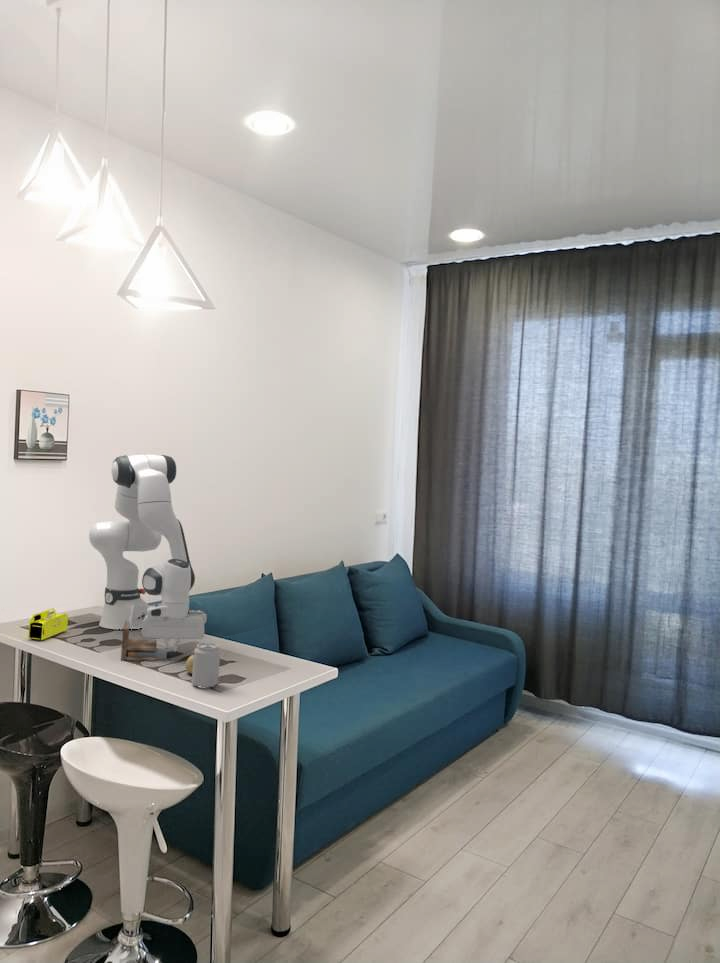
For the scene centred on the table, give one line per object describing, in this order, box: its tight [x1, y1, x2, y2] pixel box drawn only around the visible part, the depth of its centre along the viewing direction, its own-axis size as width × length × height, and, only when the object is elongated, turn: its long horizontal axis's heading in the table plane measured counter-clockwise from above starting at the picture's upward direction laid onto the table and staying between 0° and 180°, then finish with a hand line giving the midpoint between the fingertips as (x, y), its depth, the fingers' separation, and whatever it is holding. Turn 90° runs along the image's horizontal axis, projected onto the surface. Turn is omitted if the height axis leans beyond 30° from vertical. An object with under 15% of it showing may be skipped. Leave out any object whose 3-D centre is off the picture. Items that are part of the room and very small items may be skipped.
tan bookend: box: [120, 621, 158, 661], centre depth 242 cm, size 10×10×10 cm
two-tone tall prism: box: [127, 647, 168, 660], centre depth 243 cm, size 12×6×2 cm, turn 105°
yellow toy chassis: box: [27, 607, 69, 641], centre depth 257 cm, size 16×6×8 cm, turn 172°
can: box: [191, 642, 221, 687], centre depth 218 cm, size 8×8×12 cm
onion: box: [185, 650, 194, 675], centre depth 229 cm, size 8×8×7 cm
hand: (171, 651), depth 245 cm, fingers closed
